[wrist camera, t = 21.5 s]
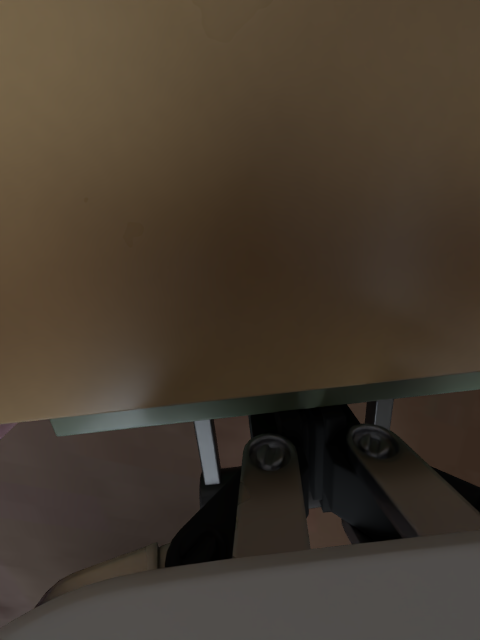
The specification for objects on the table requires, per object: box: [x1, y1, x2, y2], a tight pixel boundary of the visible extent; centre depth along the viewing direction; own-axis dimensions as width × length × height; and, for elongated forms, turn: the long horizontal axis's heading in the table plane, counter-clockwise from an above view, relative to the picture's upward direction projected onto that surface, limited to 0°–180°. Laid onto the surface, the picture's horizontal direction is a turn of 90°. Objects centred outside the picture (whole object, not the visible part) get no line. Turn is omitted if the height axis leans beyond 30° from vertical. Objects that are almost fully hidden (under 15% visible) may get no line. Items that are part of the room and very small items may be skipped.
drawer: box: [50, 372, 480, 509], centre depth 8 cm, size 21×13×7 cm, turn 5°
